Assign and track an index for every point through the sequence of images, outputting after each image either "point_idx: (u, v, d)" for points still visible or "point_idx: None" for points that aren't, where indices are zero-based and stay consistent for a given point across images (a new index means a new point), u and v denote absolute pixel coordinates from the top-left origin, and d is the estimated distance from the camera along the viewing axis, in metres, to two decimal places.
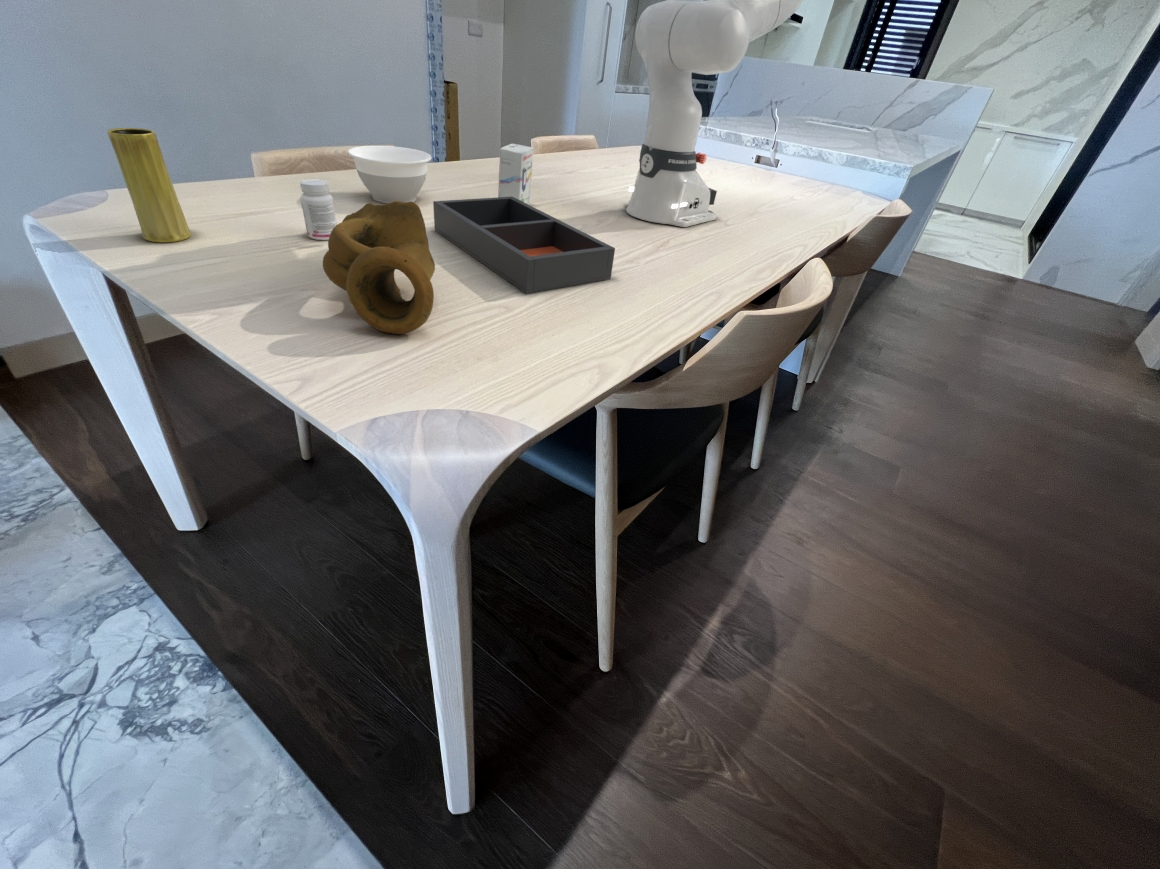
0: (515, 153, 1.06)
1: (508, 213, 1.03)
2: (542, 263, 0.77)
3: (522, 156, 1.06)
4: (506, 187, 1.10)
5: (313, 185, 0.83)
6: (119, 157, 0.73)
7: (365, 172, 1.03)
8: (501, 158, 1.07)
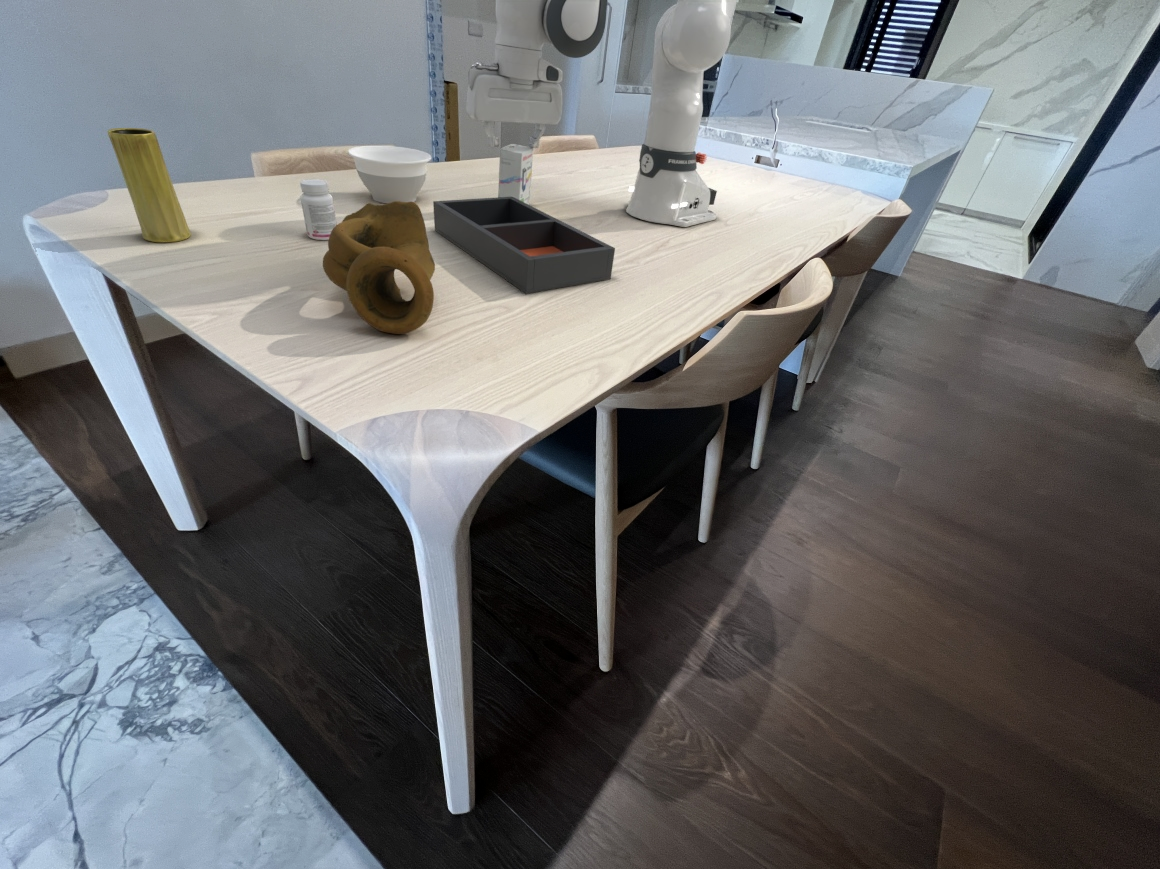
0: (515, 153, 1.06)
1: (508, 213, 1.03)
2: (542, 263, 0.77)
3: (522, 156, 1.06)
4: (506, 187, 1.10)
5: (313, 185, 0.83)
6: (119, 157, 0.73)
7: (365, 172, 1.03)
8: (501, 158, 1.07)
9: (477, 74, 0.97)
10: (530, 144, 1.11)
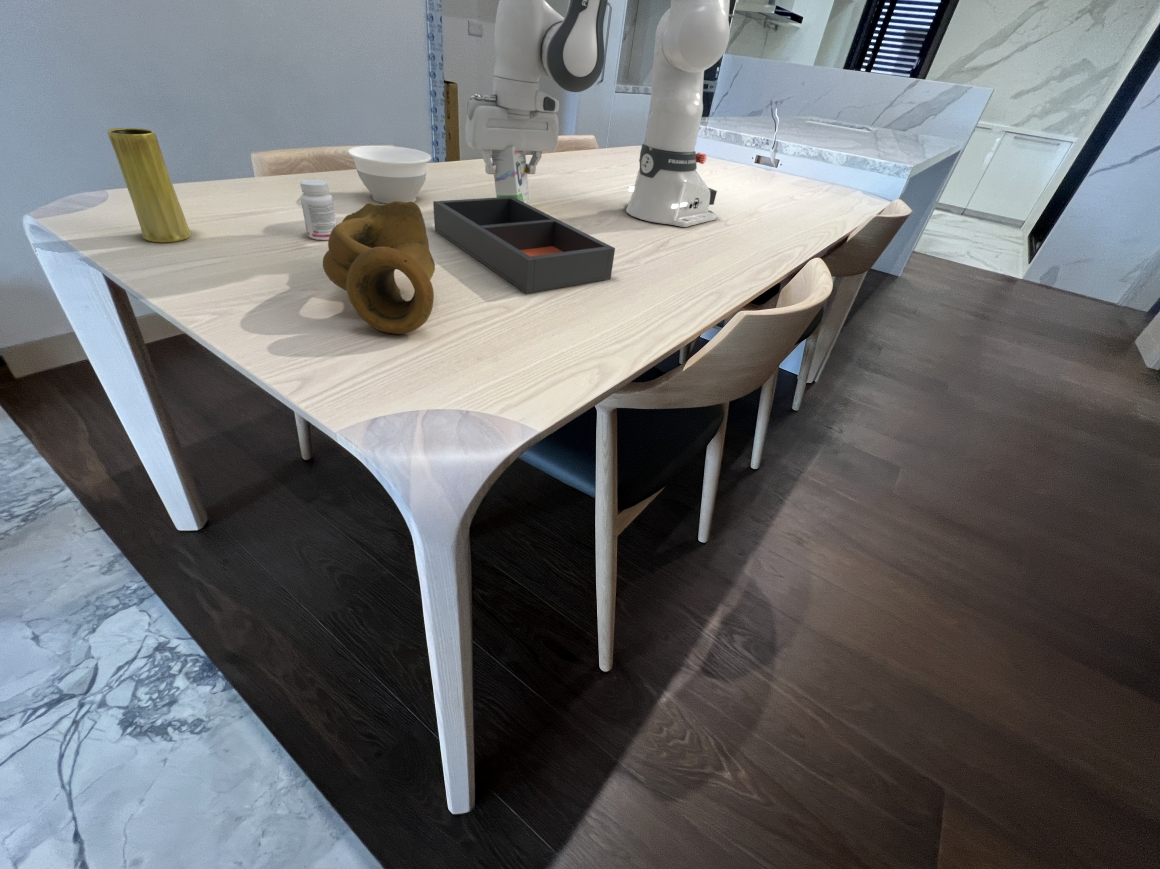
0: None
1: (508, 213, 1.03)
2: (542, 263, 0.77)
3: (513, 149, 1.06)
4: (502, 184, 1.10)
5: (313, 185, 0.83)
6: (119, 157, 0.73)
7: (365, 172, 1.03)
8: (493, 156, 1.07)
9: (476, 105, 0.99)
10: (527, 170, 1.14)
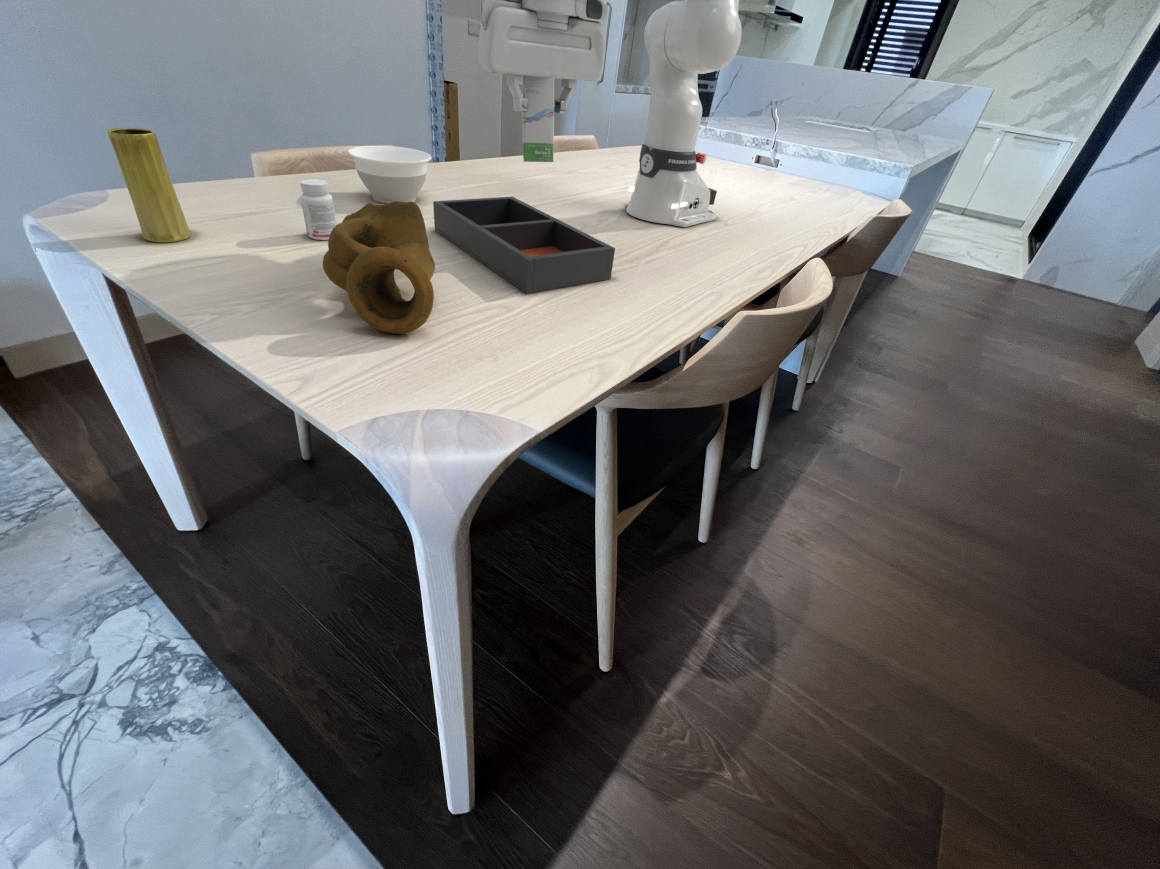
0: None
1: (508, 213, 1.03)
2: (542, 263, 0.77)
3: None
4: (534, 126, 0.81)
5: (313, 185, 0.83)
6: (119, 157, 0.73)
7: (364, 172, 1.03)
8: (526, 86, 0.79)
9: (493, 6, 0.70)
10: (556, 109, 0.83)
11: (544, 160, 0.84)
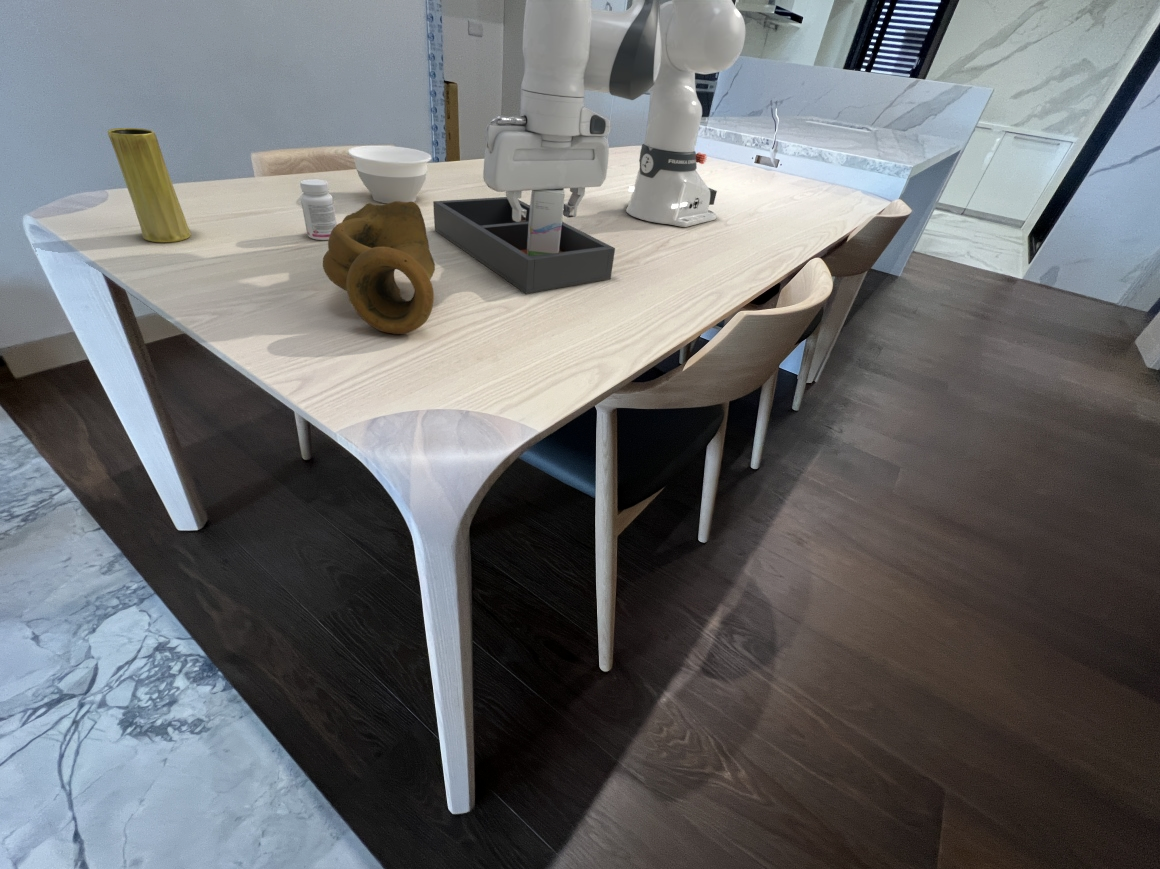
0: (555, 194, 0.79)
1: (508, 213, 1.03)
2: (542, 263, 0.77)
3: (564, 197, 0.80)
4: (541, 238, 0.82)
5: (313, 185, 0.83)
6: (119, 157, 0.73)
7: (365, 172, 1.03)
8: (536, 202, 0.79)
9: (498, 132, 0.71)
10: (565, 212, 0.85)
11: None
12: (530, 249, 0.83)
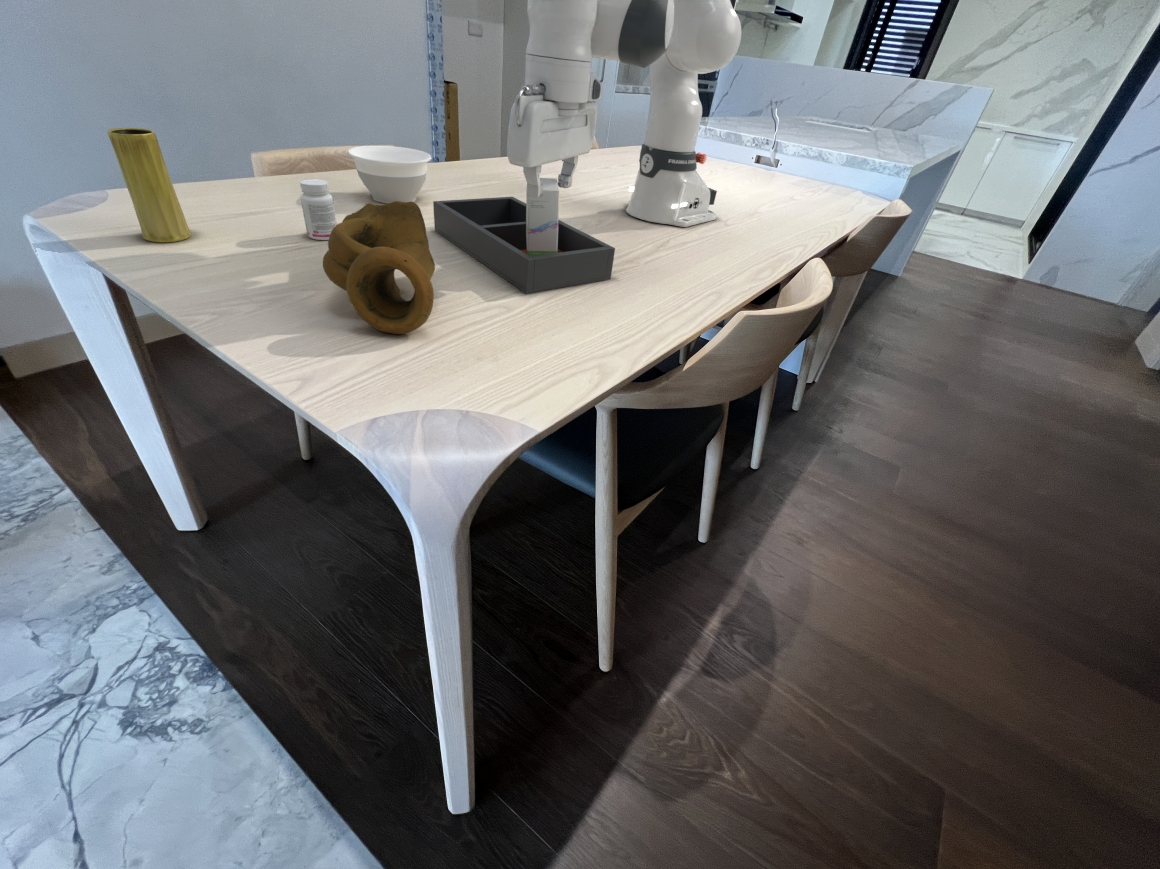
0: (549, 192, 0.79)
1: (508, 213, 1.03)
2: (542, 263, 0.77)
3: (558, 194, 0.79)
4: (538, 237, 0.82)
5: (313, 185, 0.83)
6: (119, 157, 0.73)
7: (364, 172, 1.03)
8: (530, 201, 0.79)
9: (526, 103, 0.67)
10: (561, 183, 0.83)
11: None
12: (529, 249, 0.83)
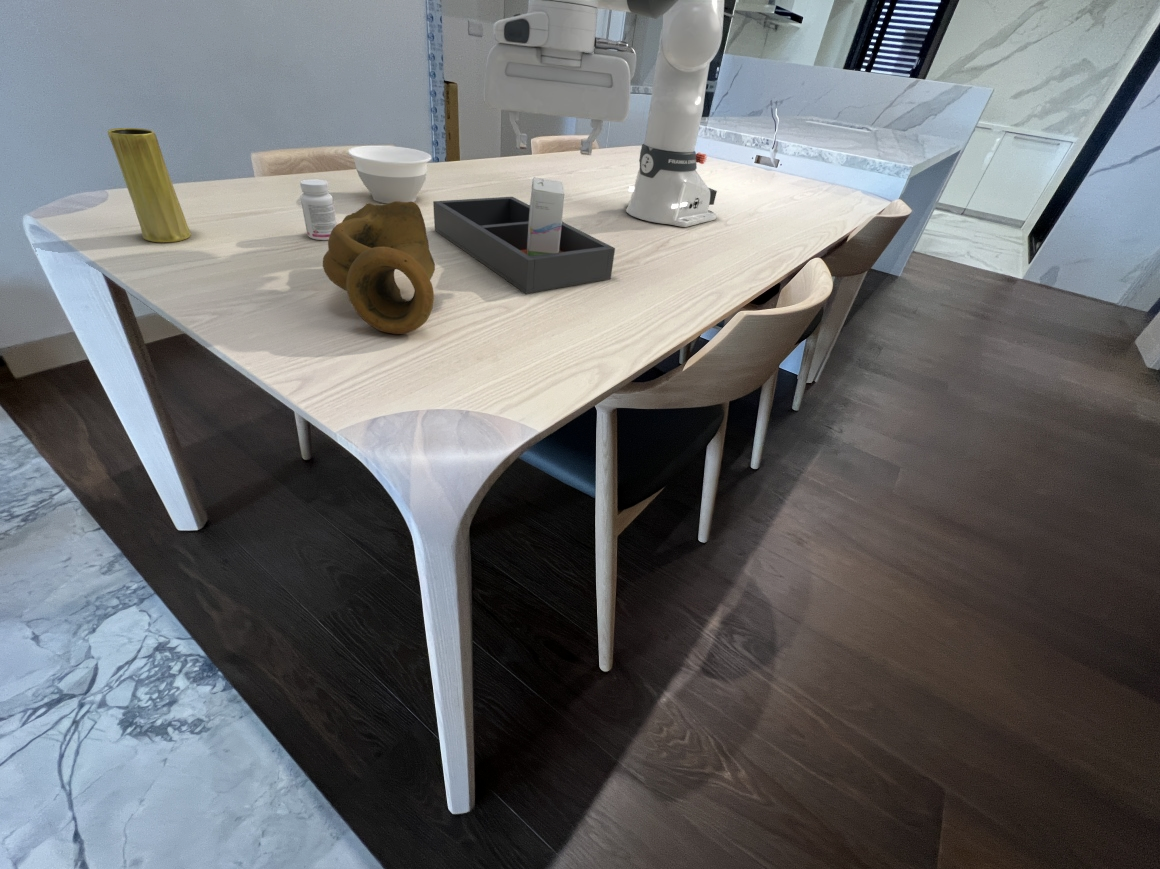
0: (555, 194, 0.79)
1: (508, 213, 1.03)
2: (542, 263, 0.77)
3: None
4: (541, 238, 0.82)
5: (313, 185, 0.83)
6: (119, 157, 0.73)
7: (364, 172, 1.03)
8: (535, 202, 0.79)
9: None
10: None
11: None
12: (530, 249, 0.83)
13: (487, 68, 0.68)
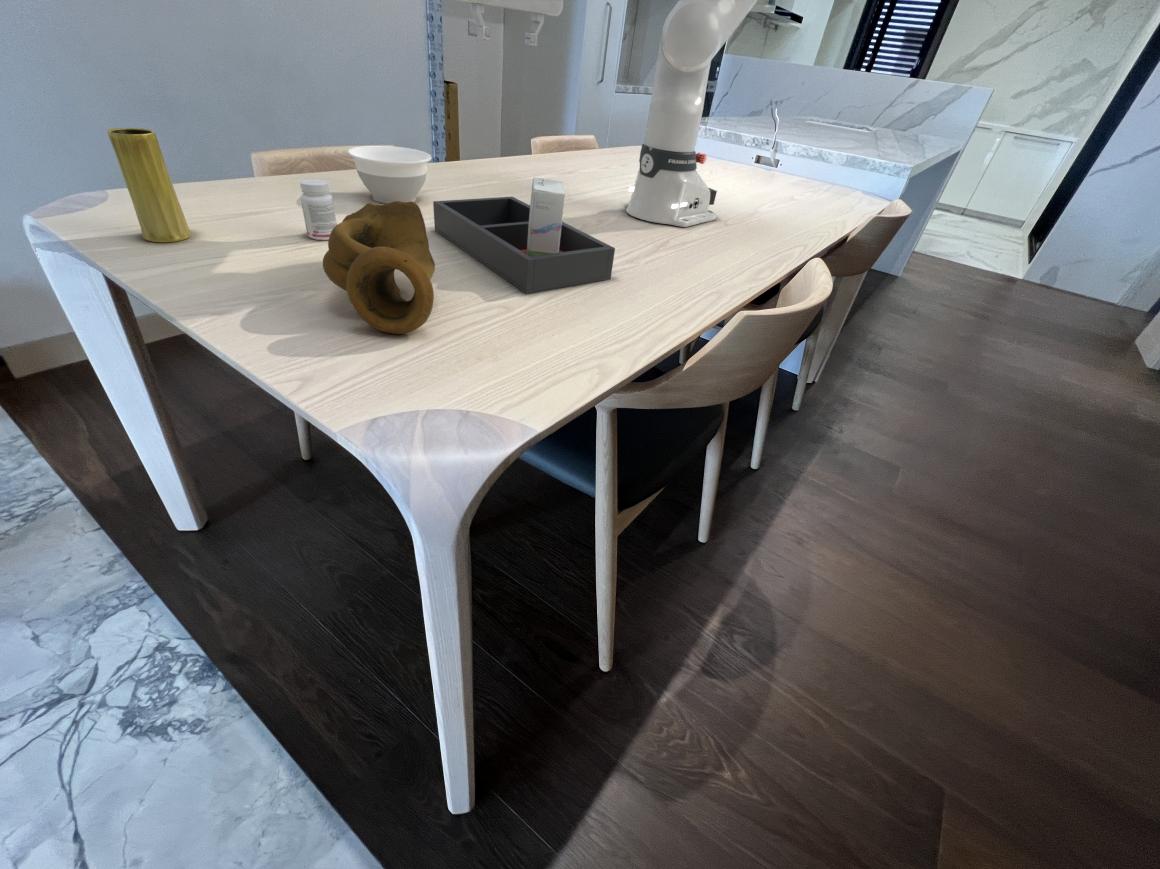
0: (555, 194, 0.79)
1: (508, 213, 1.03)
2: (542, 263, 0.77)
3: None
4: (541, 238, 0.82)
5: (313, 185, 0.83)
6: (119, 157, 0.73)
7: (365, 172, 1.03)
8: (536, 202, 0.79)
9: None
10: None
11: None
12: (530, 249, 0.83)
13: None
